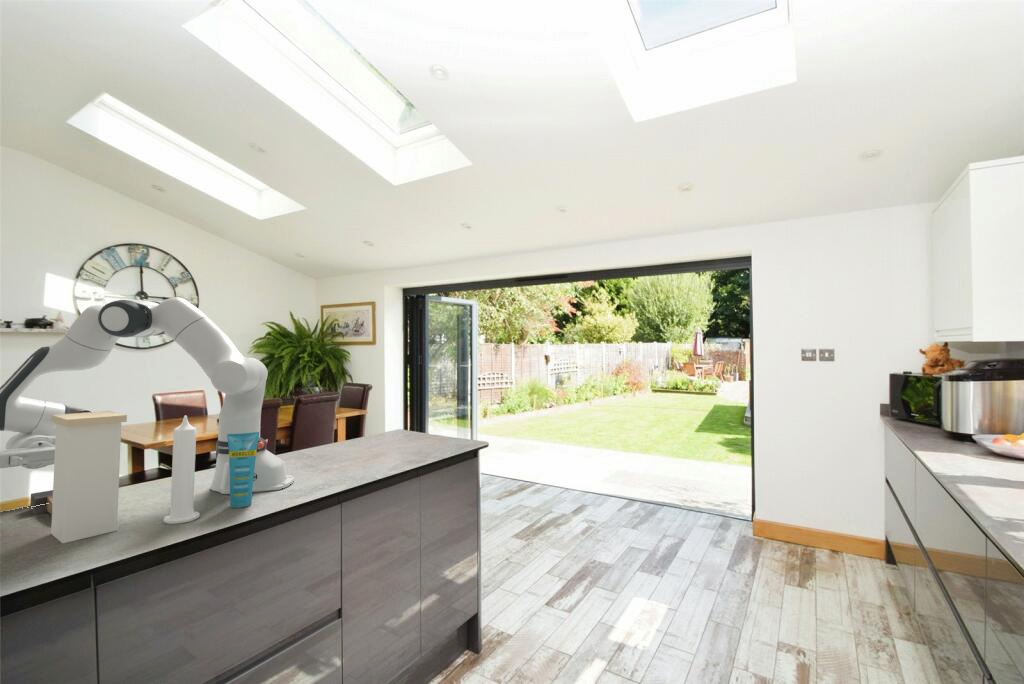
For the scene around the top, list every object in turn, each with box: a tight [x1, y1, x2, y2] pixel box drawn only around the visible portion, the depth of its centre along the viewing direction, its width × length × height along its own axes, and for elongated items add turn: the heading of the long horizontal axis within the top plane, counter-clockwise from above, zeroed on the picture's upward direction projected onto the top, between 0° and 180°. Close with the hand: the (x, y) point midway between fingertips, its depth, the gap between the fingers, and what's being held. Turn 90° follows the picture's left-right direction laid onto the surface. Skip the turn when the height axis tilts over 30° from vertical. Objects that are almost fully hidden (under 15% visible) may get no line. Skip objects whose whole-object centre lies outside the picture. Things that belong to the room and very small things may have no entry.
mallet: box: [29, 489, 53, 516], centre depth 115 cm, size 7×18×4 cm, turn 55°
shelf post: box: [50, 410, 128, 544], centre depth 104 cm, size 12×10×26 cm
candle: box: [163, 415, 200, 525], centre depth 113 cm, size 7×7×25 cm
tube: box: [227, 432, 259, 509], centre depth 123 cm, size 7×5×19 cm, turn 123°
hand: (50, 458), depth 121 cm, fingers open, 8 cm apart
